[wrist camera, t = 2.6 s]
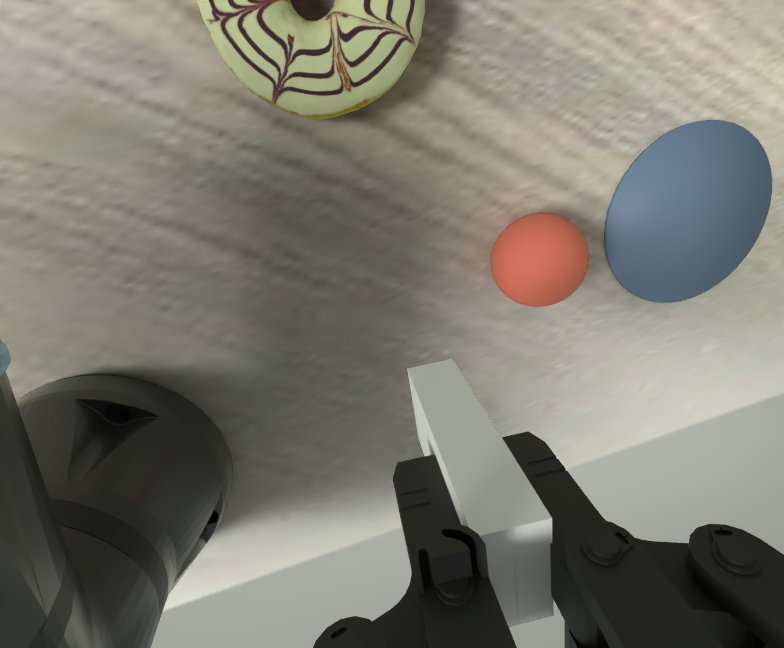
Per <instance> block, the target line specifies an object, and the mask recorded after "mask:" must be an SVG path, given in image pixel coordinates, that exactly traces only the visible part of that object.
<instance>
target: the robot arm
mask: <svg viewBox="0 0 784 648" xmlns="http://www.w3.org/2000/svg"><path fill="white" fill-rule="evenodd" d="M10 361H11V357H10V354H9V351H8V348H7V345H6V344H5V343H3V342H2V341H1V340H0V648H150V647H151V644H152V641H153V638H154V635H155V632H156V629H157V626H158V623H159V620H160V617H161V614H162V611H163V608H164V605H165V602H166V600H167V597H168V595H169V593H170V592H171V590H172V589H173V588H174V586H175V585H176V584H177V582H178V581H179V580H180V578H181V577H182V575H183V574H184V573H185V571H186V570H187V569H188V567H189V566H190V565H191V563H192V562H193V561H194V559H195V558H196V556H197V555H198V554H199V552H200V551H201V550H202V549H203V547H204V546H205V544H206V543H207V542H208V540H209V539H210V538H211V536H212V535H213V533H214V532H215V530H216V529H217V527H218V525H219V523H220V521H221V519H222V516H223V514H224V511H225V508H226V504H227V500H228V496H229V493H230V489H231V484H232V473H233V470H232V461H231V456H230V453H229V450H228V447H227V445H226V443H225V440H224V438H223V437H222V435H221V433H220V432H219V430H218V429H217V428H216V426H215V425H214V424H213V423H212V421H211V420H210V419H209V418H208V417H207V416H206V415H205V414H204V413H203V412H202V411H201V410H199V409H198V408H197V407H196V406H194V405H193V404H192V403H190V402H189V401H187V400H186V399H184V398H183V397H181V396H179V395H177V394H175V393H173V392H171V391H169V390H167V389H165V388H163V387H160V386H157V385H155V384H152V383H149V382H145V381H142V380H137V379H133V378H127V377H121V376H110V375H89V376H79V377H72V378H67V379H62V380H59V381H55V382H52V383H49V384H46V385H44V386H42V387H39V388H37V389H35V390H33V391H31V392H29V393H28V394H26V395H25V396H23V397H22V398H20V399H19V400H18V401H16V400H15V397H14V394H13V391H12V388H11V386H10V383H9V380H8V377H7V374H6V368H7V367H8V365H9V364H10ZM407 370H408V377H409V383H410V389H411V395H412V401H413V408H414V414H415V420H416V426H417V432H418V438H419V441H420V444H421V447H422V450H423V453H424V457H420V458H416V459H411V460H407V461H403V462H398V463H397V466H396V470H395V473H394V476H393V482H394V487H395V492H396V497H397V502H398V507H399V512H400V517H401V522H402V527H403V532H404V536H405V541H406V546H407V551H408V555H409V559H410V565H411V569H412V576H411V581H410V585H409V587H408V589H407V591H406V594H405V595H404V596H403V598H402V599H401V600H400V601H399V603H398V604H396V605H395V606H394V607H393V608H392V609H390V610H389V611H388V612H386V613H385V614H383V615H381V616H380V617H379V618H377V619H376V620H374V621H371V620H369V619H366V618H361V617H356V616H354V617H349V618H345V619H340V620H339V621H337V622H335V623H334V624H332V625H331V626H329V627H327V628H326V630H325V631H324V632H323V633H322V634H321V636H320V637H319V638H318V639H317V640H316V642H315V644H314V647H313V648H517V647H516V645H515V642H514V640H513V637H512V635H511V632H510V629H509V627H511V626H514V625H518V624H522V623H526V622H530V621H534V620H537V619H541V618H545V617H549V616H552V615H553V599H554V601H555V603H556V604H557V606H558V608H559V610H560V612H561V614H562V616H563V618H564V620H565V648H784V555H783V554H782V553H780V552H779V551H777V550H776V549H774V548H773V547H771V546H770V545H768V544H767V543H765V542H764V541H762V540H761V539H759V538H757V537H755V536H753V535H752V534H750V533H748V532H746V531H744V530H741V529H738V528H735V527H731V526H728V525H720V524H708V525H704V526H701V527H698V528H696V529H695V530H694V532H693V533H692V534H691V535H690V539H689V543H672V542H654V541H647V540H641V539H637V538H634V537H633V536H632V535H631V534H630V533H629V532H628V531H626V530H625V529H624V528H622V527H619V526H617V525H616V524H614V523H612V522H608V521H606V520H605V519H604V518H603V517H602V516H601V515H600V513H599V512H598V511H597V510H596V508H595V507H594V506H593V504H592V503H591V502H590V500H589V499H588V498H587V496H586V495H585V494H584V492H583V491H582V490H581V489H580V487H579V486H578V485H577V483H576V482H575V481H574V479H573V478H572V477H571V475H570V474H569V473H568V471H566V470H565V468H564V466H563V465H562V464H561V462H560V461H559V460H558V459H556V456H555V454H554V453H553V452H552V450H551V449H550V448H549V447H548V445H547V444H546V443H545V442H544V441H543V440H541V439H539V438H538V437H536V436H535V435H533V434H531V433H530V432H524V433H520V434H515V435H511V436H506V437H501V435H500V434H499V432H498V431H497V429H496V427H495V426H494V424H493V423H492V421H491V419H490V418H489V416H488V415H487V413H486V411H485V410H484V408H483V407H482V405H481V403H480V402H479V400H478V399H477V397H476V395H475V394H474V392H473V390H472V389H471V387H470V386H469V384H468V382H467V381H466V379H465V378H464V376H463V374H462V373H461V371H460V370H459V368H458V366H457V365H456V363H455V362H454V360H453V359H449V360H444V361H439V362H434V363H430V364H425V365H420V366H416V367H411V368H407Z"/></svg>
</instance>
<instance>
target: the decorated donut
mask: <svg viewBox="0 0 784 648" xmlns="http://www.w3.org/2000/svg"><path fill="white" fill-rule="evenodd" d="M197 3H198V5H199V8H200V11H201V15H202V18H203V20H204V22H205V24H206V26H207V28H208V30H209V32H210V34H211V37H212V39H213V41H214V43H215V45H216V47H217V49H218V51H219V53H220V55H221V56H222V58H223V60H224V61H225V62H226V64H227V65H228V66H229V67H230V69H231V71H232V72H233V73H234V74H235V75H236V76H237V78H238V79H239V80H240V81H241V82H242V83H243V84H244V85H245V86H246V87H247V88H248V89H249V90H250V91H251V92H252V93H254V94H255V95H257V96H259V97H260V98H261V99H263V100H265V101H267V102H268V103H270V104H271V105H273V106H275V107H277V108H279V109H281V110H284V111H286V112H288V113H291V114H294V115H296V116H301V117H304V118H308V119H317V120H318V119H328V118H333V117H337V116H341V115H344V114H346V113H349V112H352V111H356V110H358V109H359V108H362V107H365V106H367V105H368V104H369V103H371V102H373V101H375V100H377V99H378V98H380V97H381V96H382V95H383V94H384V93H386V92H387V91H388V90H389V89H391V88H392V87H393V86H394V85H395V84H396V82H397V81H398V80H399V78H400V76H401V75H402V73H403V72H404V70H405V69H406V67H407V65H408V64H409V62H410V60H411V58H412V56H413V53H414V52H415V50H416V48H417V46H418V43H419V40H420V38H421V34H422V24H423V19H424V15H425V0H334V5H333V7H332V9H331V10H330V12H329V13H328V14H327V15H325V16H324V17H323V18H321V19H320V20H317V21H309V20H305V19H304V18H302V17H301V16H300V15H298V14H297V12H296V11H295V10H294V9H293V8H294V7H293V6H292V2H291V1H290V0H197Z"/></svg>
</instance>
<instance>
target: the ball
mask: <svg viewBox="0 0 784 648" xmlns="http://www.w3.org/2000/svg"><path fill="white" fill-rule="evenodd" d="M588 259H589V258H588V249H587V245H586V242H585V240H584V238H583V236H582V234H581V233H580V231H579V230H578V229H577V228H576V227H575V226H574V225H573V224H572V223H570V222H569V221H568V220H566V219H564V218H562V217H559V216H556V215H552V214H546V213H538V214H531V215H527V216H524V217H522V218H520V219H518V220H516V221H514V222H513V223H511V224H510V225H509V226H507V227H506V228H505V229H504V230H503V232H502V233H501V234H500V235H499V237H498V239H497V240H496V242H495V245H494V247H493V250H492V255H491V269H492V274H493V277H494V279H495V282H496V284H497V285H498V287H499V288H500V289H501V291H502V292H503V293H504V294H505V295H506V296H508V297H509V298H510V299H512V300H514V301H515V302H517V303H520V304H523V305H527V306H533V307H542V306H548V305H552V304H555V303H558V302H560V301H562V300H564V299H565V298H567V297H568V296H570V295H571V294H572V293H573V292H574V291H575V290H576V289H577V288H578V287H579V285H580V284H581V282H582V280H583V279H584V276H585V274H586V271H587V267H588Z"/></svg>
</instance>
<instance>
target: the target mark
mask: <svg viewBox="0 0 784 648" xmlns="http://www.w3.org/2000/svg"><path fill="white" fill-rule="evenodd" d="M771 193H772V177H771V169H770V165H769V161H768V158H767V156H766V153H765V151H764V149H763V147H762V146H761V144H760V143H759V141H758V140H757V139H756V138H755V137H754V136H753V135H752V134H751V133H750V132H748V131H747V130H746V129H744V128H743V127H741V126H738V125H736V124H734V123H730V122H726V121H718V120H708V121H698V122H694V123H690V124H686V125H684V126H681V127H679V128H676V129H674V130H672V131H670V132H669V133H667V134H665V135H663V136H662V137H660V138H659V139H658V140H656V141H655V142H654V143H652V144H651V145H650V146H649V147H648V148H647V149H646V150H644V151H643V152H642V153H641V154H640V156H639V157H638V158H637V159H636V160H635V161H634V162H633V163H632V165H631V166H630V168H629V169H628V170H627V172H626V173H625V174H624V176H623V178H622V180H621V181H620V183H619V185H618V187H617V189H616V191H615V193H614V195H613V198H612V201H611V204H610V207H609V210H608V214H607V219H606V224H605V250H606V256H607V259H608V263H609V266H610V268H611V270H612V272H613V274H614V276H615V277H616V279H617V280H618V281H619V283H620V284H621V285H622V286H623V287H624V288H625V289H627V290H628V291H629V292H631V293H632V294H634V295H636V296H638V297H640V298H642V299H645V300H649V301H653V302H661V303H663V302H677V301H682V300H686V299H689V298H692V297H694V296H697V295H699V294H702V293H703V292H705V291H707V290H709V289H711V288H712V287H714V286H715V285H717V284H718V283H720V282H721V281H722V280H723V279H725V278H726V277H727V276H728V275H729V274H730V273H731V272H732V271H733V270H734V269H735V268H736V267H737V266H738V265H739V264H740V263H741V262H742V261H743V259H744V258H745V257H746V255H747V254H748V253H749V251H750V250H751V248H752V247H753V245H754V243H755V242H756V240H757V238H758V236H759V234H760V232H761V230H762V228H763V226H764V223H765V220H766V217H767V214H768V210H769V206H770V201H771Z"/></svg>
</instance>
